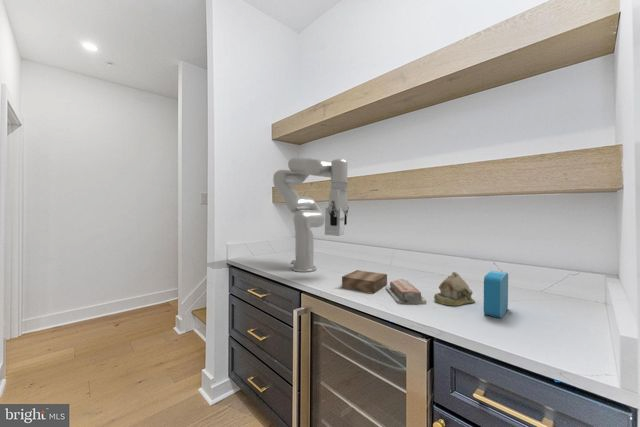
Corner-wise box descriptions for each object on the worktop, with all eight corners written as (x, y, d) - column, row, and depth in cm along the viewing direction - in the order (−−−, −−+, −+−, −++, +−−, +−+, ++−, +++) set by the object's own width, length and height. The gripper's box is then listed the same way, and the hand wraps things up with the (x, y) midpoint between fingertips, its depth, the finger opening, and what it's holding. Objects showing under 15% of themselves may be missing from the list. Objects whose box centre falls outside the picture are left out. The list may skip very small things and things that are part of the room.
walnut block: (342, 288, 111) (342, 276, 111) (357, 281, 123) (357, 270, 123) (374, 294, 104) (374, 281, 104) (387, 285, 115) (387, 274, 115)
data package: (491, 305, 91) (492, 269, 91) (508, 308, 88) (508, 271, 88) (483, 315, 82) (483, 276, 82) (500, 319, 79) (501, 278, 79)
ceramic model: (448, 293, 105) (448, 267, 105) (479, 300, 96) (479, 272, 96) (428, 300, 96) (428, 272, 96) (460, 310, 87) (461, 279, 87)
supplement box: (339, 236, 121) (340, 207, 121) (324, 235, 124) (324, 207, 124) (344, 234, 128) (345, 207, 128) (329, 233, 131) (330, 207, 131)
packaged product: (427, 291, 92) (398, 291, 92) (427, 305, 92) (398, 305, 92) (410, 277, 110) (385, 277, 110) (410, 289, 110) (385, 289, 110)
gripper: (341, 188, 134) (341, 223, 134) (321, 186, 120) (321, 225, 120) (355, 187, 130) (354, 224, 130) (335, 185, 115) (335, 226, 116)
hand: (338, 224), depth 125 cm, fingers closed on supplement box, 8 cm apart
